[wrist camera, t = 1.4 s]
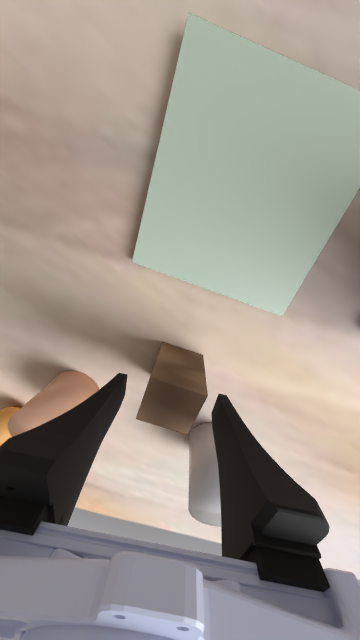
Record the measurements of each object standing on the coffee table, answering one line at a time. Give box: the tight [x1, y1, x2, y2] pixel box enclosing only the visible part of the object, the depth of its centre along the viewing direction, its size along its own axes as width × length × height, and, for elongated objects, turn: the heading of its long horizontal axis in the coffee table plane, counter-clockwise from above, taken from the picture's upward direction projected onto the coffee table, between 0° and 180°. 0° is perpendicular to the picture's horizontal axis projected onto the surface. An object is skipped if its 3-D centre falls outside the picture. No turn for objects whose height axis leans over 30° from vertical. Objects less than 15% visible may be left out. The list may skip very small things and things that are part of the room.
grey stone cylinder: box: [189, 423, 221, 526], centre depth 17 cm, size 5×5×6 cm
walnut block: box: [136, 342, 208, 434], centre depth 14 cm, size 4×4×5 cm
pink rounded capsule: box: [8, 371, 99, 437], centre depth 16 cm, size 5×5×5 cm
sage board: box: [132, 13, 360, 316], centre depth 11 cm, size 12×12×1 cm
